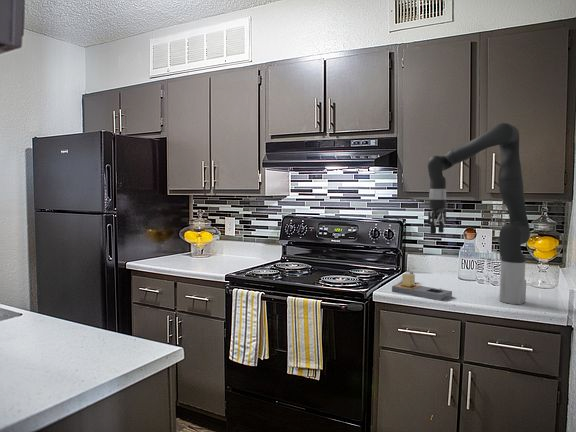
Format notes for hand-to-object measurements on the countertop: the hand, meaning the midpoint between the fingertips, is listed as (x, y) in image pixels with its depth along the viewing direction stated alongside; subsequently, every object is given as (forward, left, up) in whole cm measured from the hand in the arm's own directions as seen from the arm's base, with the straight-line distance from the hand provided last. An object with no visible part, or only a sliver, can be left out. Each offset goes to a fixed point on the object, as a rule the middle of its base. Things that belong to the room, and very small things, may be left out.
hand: (437, 233), depth 220 cm
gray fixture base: (-1, +16, -26) cm, 31 cm away
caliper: (+14, +5, -27) cm, 31 cm away
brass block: (+5, +16, -26) cm, 31 cm away
